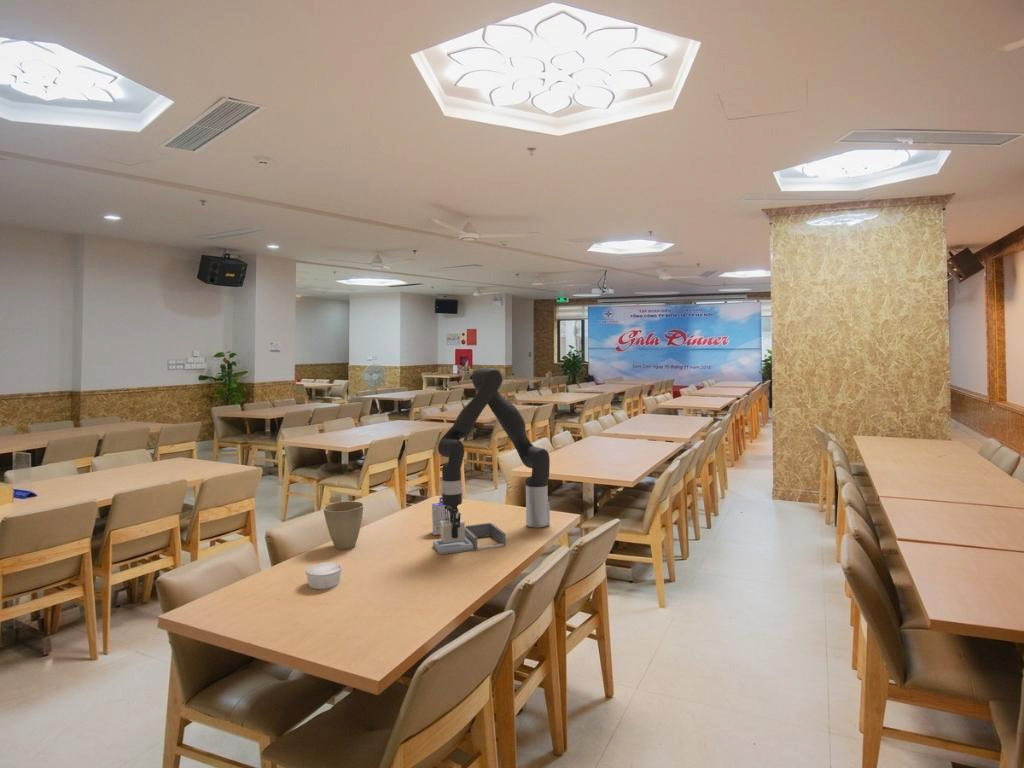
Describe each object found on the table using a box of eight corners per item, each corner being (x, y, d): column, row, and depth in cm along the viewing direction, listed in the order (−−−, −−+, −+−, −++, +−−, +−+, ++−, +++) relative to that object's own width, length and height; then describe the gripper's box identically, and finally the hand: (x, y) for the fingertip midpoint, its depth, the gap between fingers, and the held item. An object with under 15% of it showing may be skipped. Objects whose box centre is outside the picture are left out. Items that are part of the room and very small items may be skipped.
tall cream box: (461, 536, 227) (460, 518, 226) (464, 540, 222) (464, 521, 222) (440, 539, 224) (440, 521, 223) (443, 543, 219) (443, 524, 219)
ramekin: (338, 590, 185) (337, 573, 185) (302, 592, 185) (301, 575, 184) (345, 576, 197) (345, 561, 196) (311, 578, 196) (310, 562, 196)
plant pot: (340, 539, 236) (339, 499, 235) (372, 542, 231) (371, 502, 230) (316, 551, 222) (314, 509, 221) (349, 555, 217) (348, 512, 216)
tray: (465, 541, 230) (465, 536, 230) (473, 549, 221) (473, 544, 221) (433, 546, 225) (432, 540, 225) (439, 554, 216) (439, 548, 216)
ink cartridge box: (456, 530, 246) (455, 495, 245) (457, 534, 240) (456, 499, 240) (432, 531, 245) (431, 497, 244) (432, 535, 239) (431, 500, 238)
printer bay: (492, 534, 239) (492, 522, 239) (506, 545, 225) (506, 532, 225) (463, 538, 235) (462, 526, 234) (475, 550, 220) (474, 537, 220)
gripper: (467, 494, 217) (467, 540, 218) (456, 486, 230) (457, 529, 231) (447, 496, 214) (448, 542, 215) (437, 488, 227) (438, 531, 228)
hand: (452, 535), depth 223 cm, fingers closed on tall cream box, 5 cm apart
